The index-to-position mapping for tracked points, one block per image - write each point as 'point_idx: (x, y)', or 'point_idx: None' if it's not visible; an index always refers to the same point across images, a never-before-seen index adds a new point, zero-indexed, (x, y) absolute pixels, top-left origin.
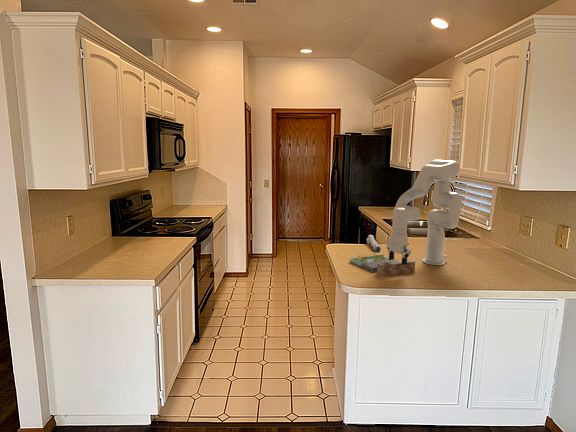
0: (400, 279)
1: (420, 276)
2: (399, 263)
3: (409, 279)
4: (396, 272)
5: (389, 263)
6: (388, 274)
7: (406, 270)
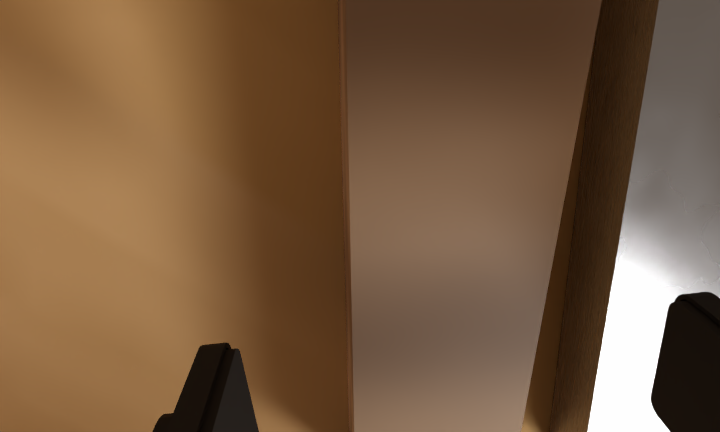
0: (40, 65)
1: None
2: (352, 354)
3: (30, 220)
4: (343, 198)
5: (448, 104)
6: (338, 2)
7: (348, 383)
